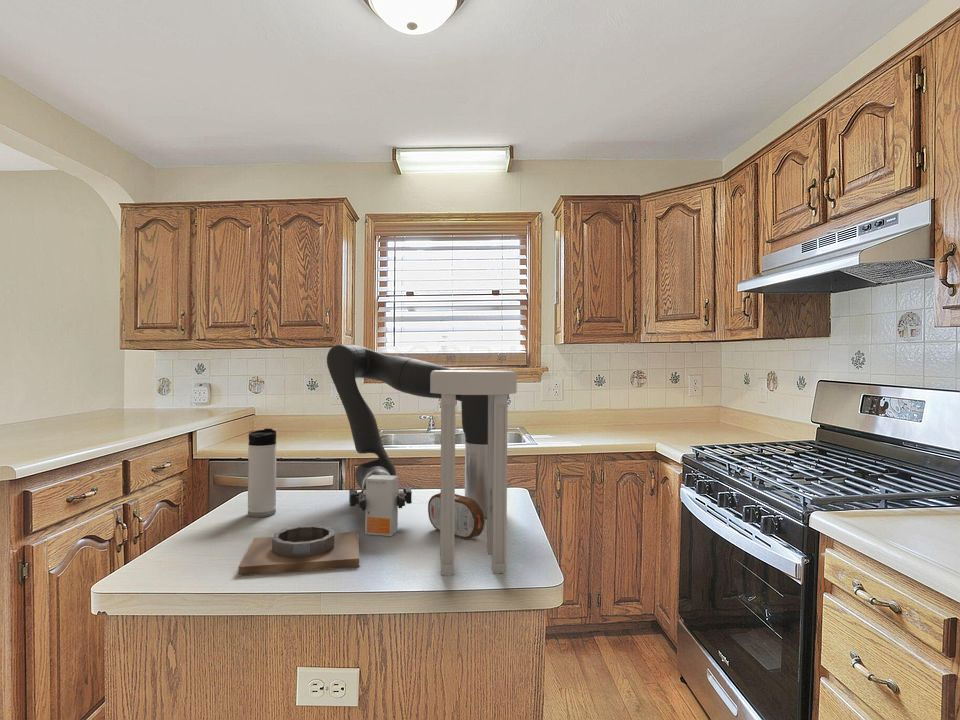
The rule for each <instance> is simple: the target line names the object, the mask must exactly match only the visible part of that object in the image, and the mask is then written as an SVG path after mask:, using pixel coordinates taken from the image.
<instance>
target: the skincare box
mask: <svg viewBox="0 0 960 720" xmlns="http://www.w3.org/2000/svg"><path fill="white" fill-rule="evenodd" d="M398 489H399V475H396V476H390V475H371V476H369V477H368V478H366V510H364V513H365V517H364V519H365V521H364V534H365V535H367V536H368V535H369V536H370V535H372V536H383V537H384V536H385V537H386V536H387V537H393V535H394V534H396V532H398V527H399V526H398V525H399V522H398V518H399V517H398V516H399V508H398Z"/></svg>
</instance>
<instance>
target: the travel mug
mask: <svg viewBox="0 0 960 720" xmlns="http://www.w3.org/2000/svg"><path fill="white" fill-rule="evenodd" d="M247 448H248V450H247V453H248V454H247V456H248V457H247V462H248V463H247V474H248V475H247V516H249V517H250V518H265V517H266V518H267V517H270V516H273V515H275V514H276V511H277V509H276V508H277V507H276V506H277V430H274V429H273V428H268V427H267V428H264V429H257V430H253V431H251V432H249V433H248V447H247Z"/></svg>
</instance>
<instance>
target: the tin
mask: <svg viewBox="0 0 960 720" xmlns="http://www.w3.org/2000/svg"><path fill="white" fill-rule="evenodd" d="M440 498H441V492H439V493H436V494H434V495H432V496H431V497H430V498H429V500H428V504H427V511H428V513H427V515H428V519H429V522H430V523H431V525H432V526H433V528H435V530H436V531H438V530H439V531H438V532H440ZM485 522H486V521H485V517H484V514H483V511H482V509H481V507H480V506H479V504H478V503H477V502H476V501H475V500H474V499H472V498H469V497H465V495H461V494H456V493H455V523H454V537H456V536H457V537H456V538H458V537H460V538H459V539H462V538H463V540H471V539H473V538H478V537H479V536H481V535H482V533H483V530H484V528H485Z"/></svg>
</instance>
